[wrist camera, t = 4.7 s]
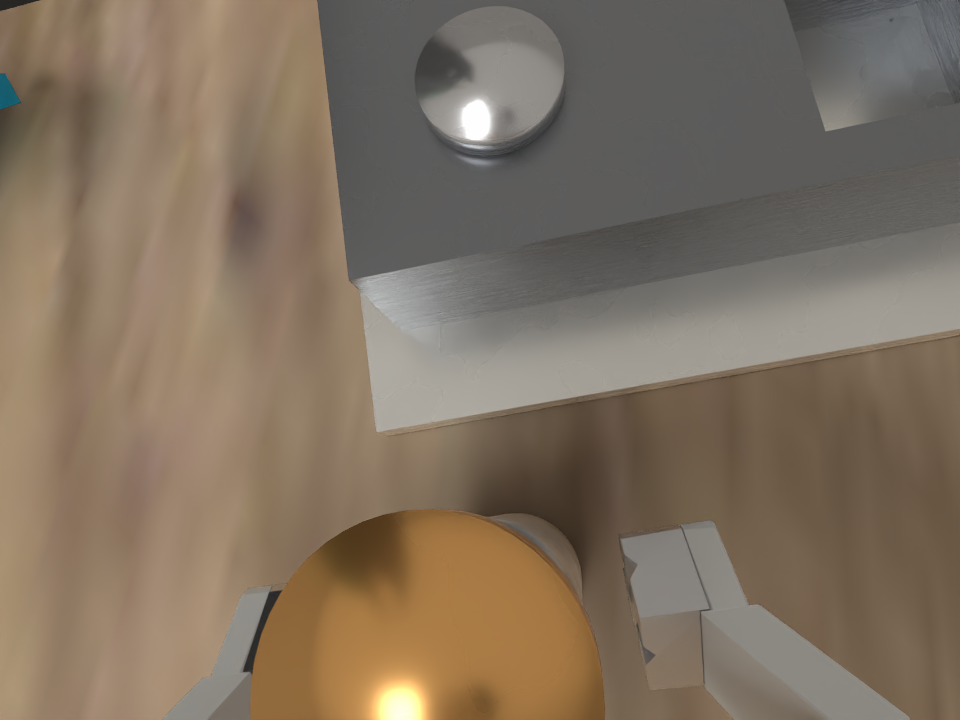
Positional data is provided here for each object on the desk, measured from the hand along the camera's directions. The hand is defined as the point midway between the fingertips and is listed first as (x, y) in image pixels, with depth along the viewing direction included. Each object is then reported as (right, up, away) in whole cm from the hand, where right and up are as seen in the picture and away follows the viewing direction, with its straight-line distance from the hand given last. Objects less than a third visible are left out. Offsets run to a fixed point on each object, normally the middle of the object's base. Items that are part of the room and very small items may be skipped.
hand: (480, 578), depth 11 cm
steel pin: (+1, -2, +5) cm, 5 cm away
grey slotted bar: (+9, +10, +6) cm, 15 cm away
